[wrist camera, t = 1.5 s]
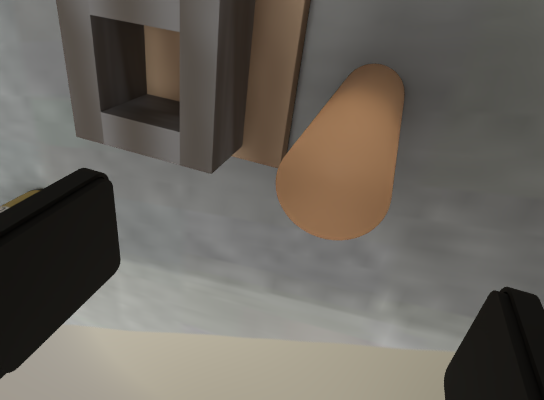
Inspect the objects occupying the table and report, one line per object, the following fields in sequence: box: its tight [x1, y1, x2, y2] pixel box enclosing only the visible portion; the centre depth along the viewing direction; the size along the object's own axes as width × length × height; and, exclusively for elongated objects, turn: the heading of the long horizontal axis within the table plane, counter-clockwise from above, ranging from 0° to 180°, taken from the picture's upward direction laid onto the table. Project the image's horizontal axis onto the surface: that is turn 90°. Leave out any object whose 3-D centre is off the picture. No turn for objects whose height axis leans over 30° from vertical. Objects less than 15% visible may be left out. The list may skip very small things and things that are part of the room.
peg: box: [276, 64, 405, 240], centre depth 19 cm, size 4×4×14 cm
